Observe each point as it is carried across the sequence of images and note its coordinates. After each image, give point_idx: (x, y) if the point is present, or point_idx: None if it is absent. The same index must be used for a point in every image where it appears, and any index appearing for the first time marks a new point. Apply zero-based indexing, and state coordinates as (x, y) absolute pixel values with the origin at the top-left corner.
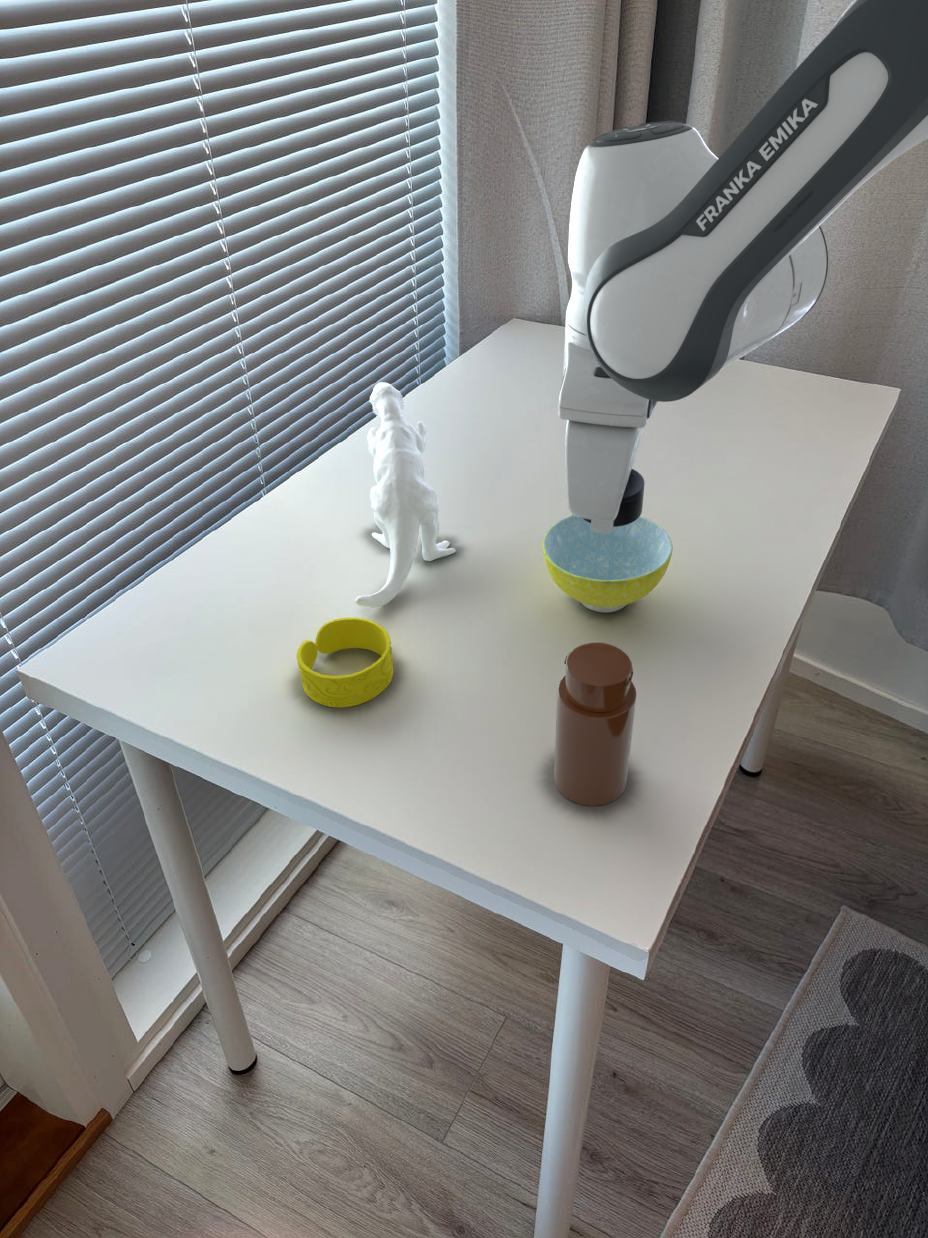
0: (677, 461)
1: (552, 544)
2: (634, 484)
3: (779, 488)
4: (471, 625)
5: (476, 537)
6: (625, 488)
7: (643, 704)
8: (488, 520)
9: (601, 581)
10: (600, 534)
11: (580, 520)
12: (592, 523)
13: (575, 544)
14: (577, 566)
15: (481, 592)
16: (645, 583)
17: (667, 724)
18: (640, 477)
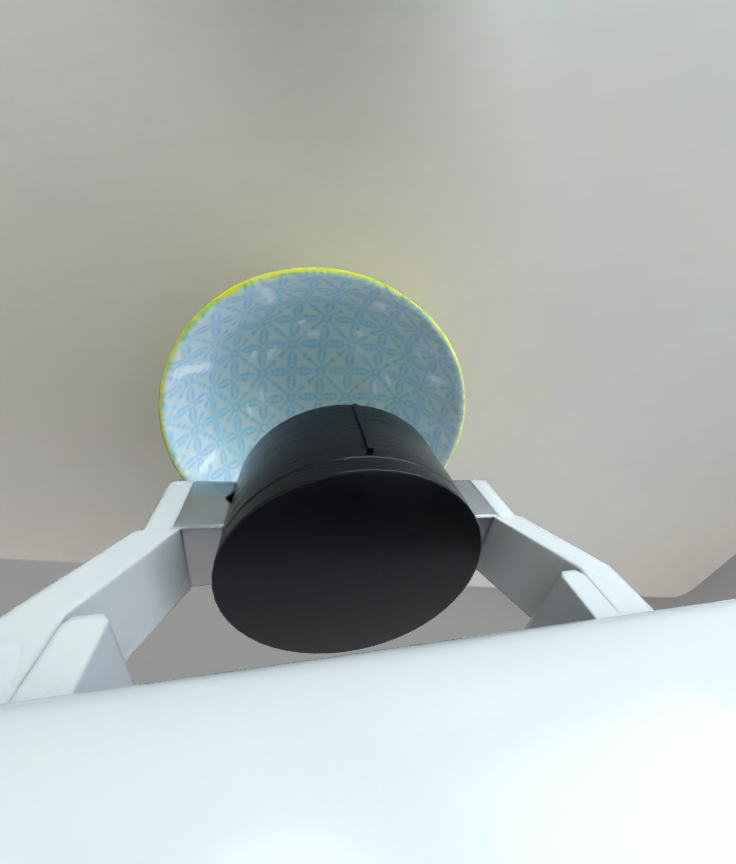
0: (647, 446)
1: (349, 292)
2: (341, 634)
3: None
4: (137, 65)
5: (517, 50)
6: (310, 622)
7: (65, 462)
8: (581, 88)
9: (164, 442)
10: (423, 390)
11: (440, 357)
12: (160, 501)
13: (400, 338)
14: (363, 339)
15: (287, 90)
16: None
17: (38, 494)
18: (387, 637)
